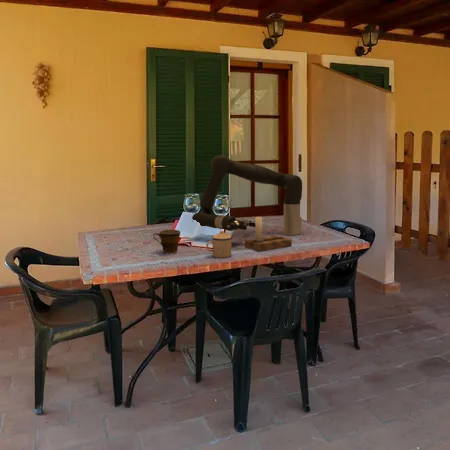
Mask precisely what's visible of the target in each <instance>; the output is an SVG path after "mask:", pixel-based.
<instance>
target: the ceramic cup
mask: <svg viewBox="0 0 450 450" xmlns="http://www.w3.org/2000/svg"><path fill="white" fill-rule="evenodd" d="M156 235H157V236H158V237H159V238H160V241H159V239H157V238H155V236H156ZM152 237H153V239H154V240H155V241H157V242H158V243H159V244H160V245H161V247H162V251H163V254H166V253H173V254H177V253H178V249H179V242H180V237H181V231H180V230H178V229H165V230H160V231H159V232H158V233H157V232H156V233H154V234H153V236H152ZM176 252H177V253H176Z"/></svg>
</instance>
